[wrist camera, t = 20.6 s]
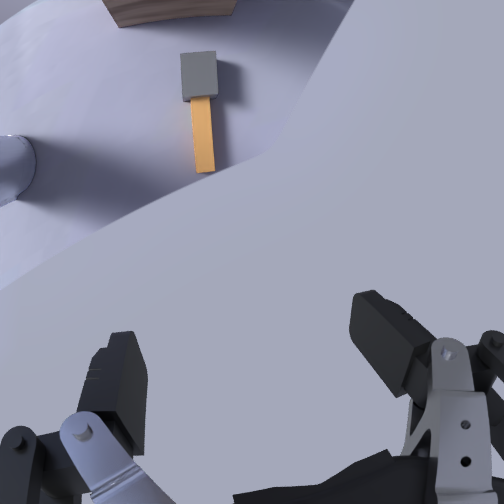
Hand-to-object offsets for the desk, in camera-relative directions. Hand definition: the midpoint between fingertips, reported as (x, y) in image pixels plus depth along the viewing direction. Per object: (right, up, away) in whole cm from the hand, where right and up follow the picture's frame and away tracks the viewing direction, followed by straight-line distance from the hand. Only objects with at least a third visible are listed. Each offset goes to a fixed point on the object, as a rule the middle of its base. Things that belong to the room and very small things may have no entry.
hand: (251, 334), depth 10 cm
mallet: (-7, +21, +26) cm, 35 cm away
